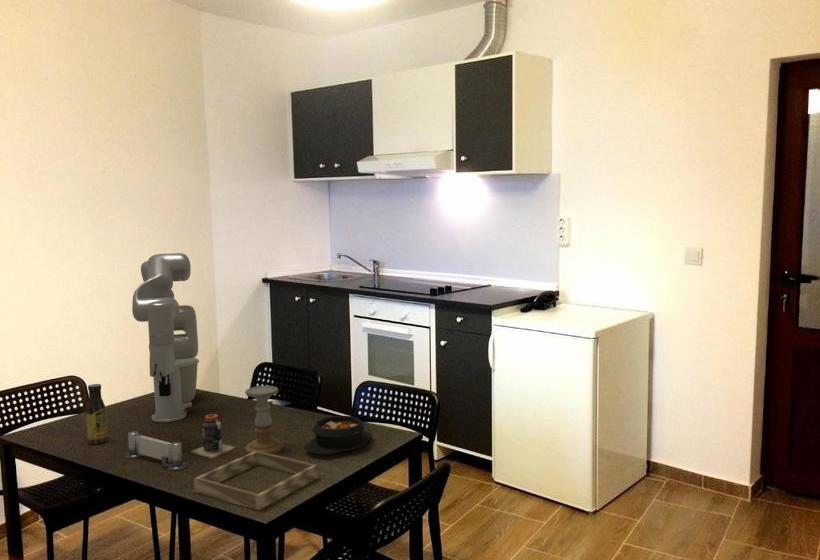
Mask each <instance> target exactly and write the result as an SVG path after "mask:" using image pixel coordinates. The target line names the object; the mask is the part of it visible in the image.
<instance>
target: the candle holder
mask: <svg viewBox="0 0 820 560" xmlns="http://www.w3.org/2000/svg"><path fill="white" fill-rule="evenodd" d="M278 393H279V388H278V387H276V386H273V385H258V386H253V387H250V388H249V387H248V388H247V389H245V395H246V396H247V397H250V398H254V400H256V405H255V406H254V410H256V415H255V419H254V424H255V426H256V427H255V428H254V433H255V434H256V439H253V440H252V441H250V442H249V443H248V444H246V445H245V448H244V451H245V454H246V455H247V454H249V453H251V452H254V451H260V452H264V453H269V454H273V455H276V454H278V453H281V452H282V451H283V449H284V443H283V442H282V441H280V440H278V439H277V438H274V437H272V431H273V430H274V428H273V427H272V426H271V424H272V423H273V420H272V417H271V414H270V408H271V405H270V404H269V401H268V400H269V399H270V398H271V397H272V396H275V395H277V394H278Z"/></svg>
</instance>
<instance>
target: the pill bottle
mask: <svg viewBox="0 0 820 560" xmlns="http://www.w3.org/2000/svg"><path fill="white" fill-rule="evenodd" d="M222 431H223V429H222V422H221V421H220V420H219V415H218V414H216V413H214V414H213V413H211V414H210V413H209V414H206V415H205V417H204V422H203V423H202V441H203V442H202V443H203V446H204V450H205V451H207V452H214V451H218V450H220V449H222V447H223V445H222V444H223V432H222Z"/></svg>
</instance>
